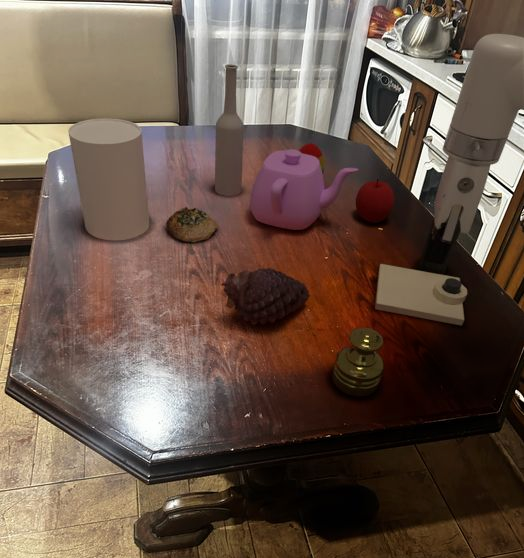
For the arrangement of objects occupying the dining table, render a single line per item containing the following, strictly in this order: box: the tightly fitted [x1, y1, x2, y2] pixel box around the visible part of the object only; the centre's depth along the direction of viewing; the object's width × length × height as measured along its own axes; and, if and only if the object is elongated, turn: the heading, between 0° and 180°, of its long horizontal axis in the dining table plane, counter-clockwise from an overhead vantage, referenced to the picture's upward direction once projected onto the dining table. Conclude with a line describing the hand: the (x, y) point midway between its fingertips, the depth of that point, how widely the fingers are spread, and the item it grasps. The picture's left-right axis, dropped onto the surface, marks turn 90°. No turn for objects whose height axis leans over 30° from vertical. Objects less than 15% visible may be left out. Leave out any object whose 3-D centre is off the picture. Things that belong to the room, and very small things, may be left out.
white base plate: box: [374, 263, 468, 326], centre depth 99 cm, size 16×14×3 cm
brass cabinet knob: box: [331, 327, 385, 397], centre depth 78 cm, size 7×7×10 cm
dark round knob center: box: [443, 278, 463, 294], centre depth 97 cm, size 3×3×2 cm
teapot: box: [249, 148, 359, 231], centre depth 113 cm, size 23×21×15 cm
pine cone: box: [220, 267, 311, 326], centre depth 89 cm, size 18×10×10 cm
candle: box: [416, 218, 461, 275], centre depth 99 cm, size 5×5×25 cm
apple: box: [355, 178, 395, 224], centre depth 119 cm, size 9×9×10 cm
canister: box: [67, 117, 150, 241], centre depth 105 cm, size 14×14×20 cm
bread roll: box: [165, 206, 219, 243], centre depth 111 cm, size 11×11×5 cm
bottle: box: [214, 63, 245, 197], centre depth 119 cm, size 7×7×28 cm
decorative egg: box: [298, 142, 325, 175], centre depth 131 cm, size 8×8×10 cm
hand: (432, 260), depth 81 cm, fingers closed
